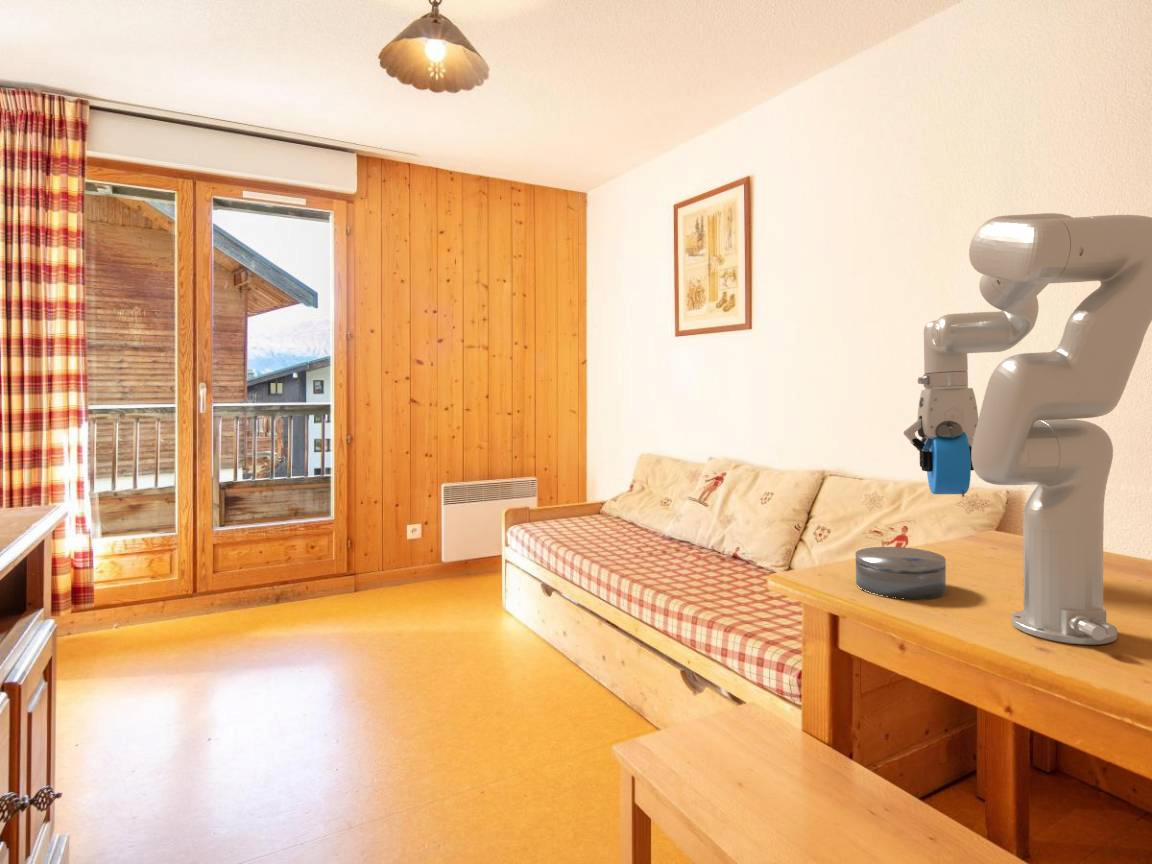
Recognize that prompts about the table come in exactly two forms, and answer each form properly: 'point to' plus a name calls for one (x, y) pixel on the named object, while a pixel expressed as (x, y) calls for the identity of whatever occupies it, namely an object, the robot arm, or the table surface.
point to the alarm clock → (950, 460)
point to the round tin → (901, 572)
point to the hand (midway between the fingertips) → (947, 469)
